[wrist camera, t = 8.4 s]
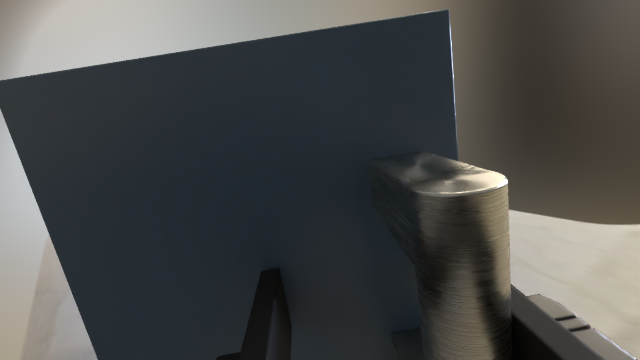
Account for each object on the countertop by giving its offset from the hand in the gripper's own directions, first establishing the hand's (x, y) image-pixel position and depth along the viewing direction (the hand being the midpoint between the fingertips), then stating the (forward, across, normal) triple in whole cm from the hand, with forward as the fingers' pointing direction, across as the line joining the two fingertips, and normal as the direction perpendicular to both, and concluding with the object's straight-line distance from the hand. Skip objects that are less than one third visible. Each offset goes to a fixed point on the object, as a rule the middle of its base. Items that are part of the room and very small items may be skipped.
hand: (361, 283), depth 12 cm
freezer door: (-2, -3, -10) cm, 11 cm away
